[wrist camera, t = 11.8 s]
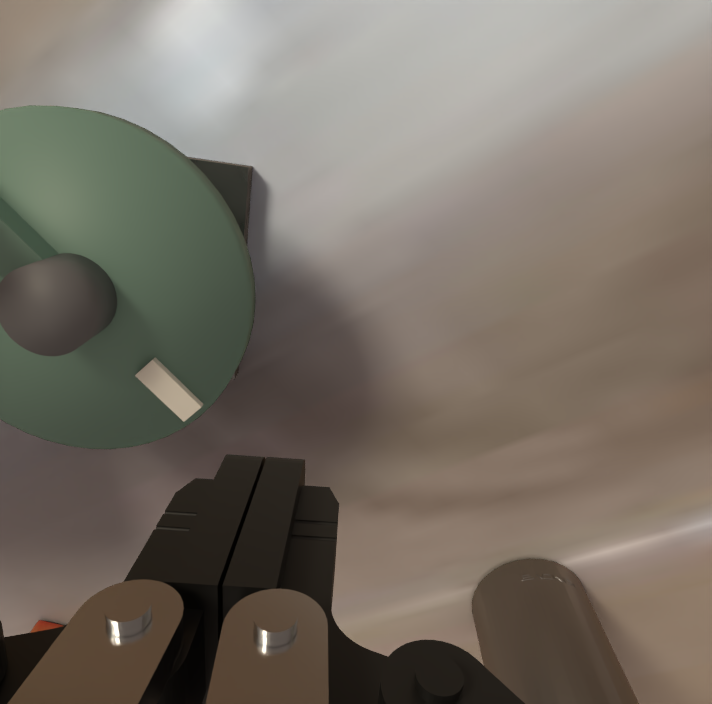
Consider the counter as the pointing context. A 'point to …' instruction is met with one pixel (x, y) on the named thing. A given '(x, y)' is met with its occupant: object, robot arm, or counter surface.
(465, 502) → the counter surface
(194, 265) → the handwheel
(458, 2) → the counter surface
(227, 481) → the robot arm
